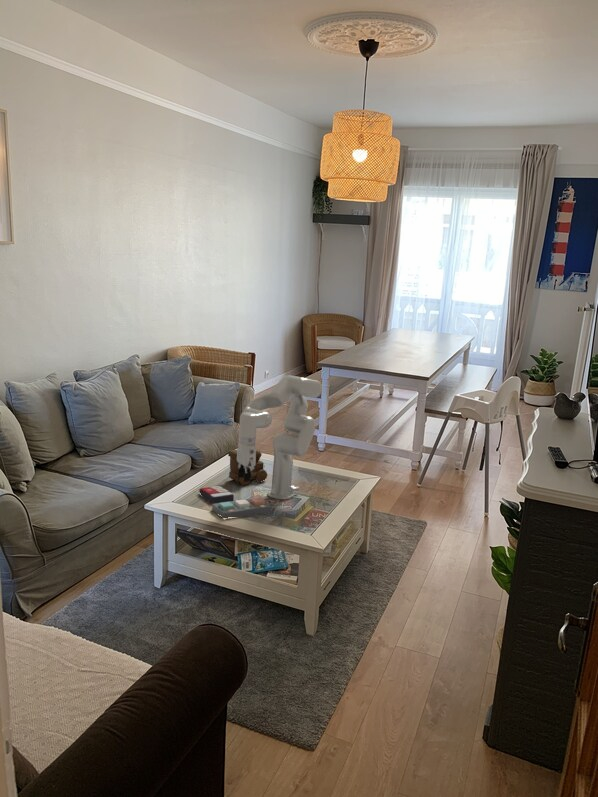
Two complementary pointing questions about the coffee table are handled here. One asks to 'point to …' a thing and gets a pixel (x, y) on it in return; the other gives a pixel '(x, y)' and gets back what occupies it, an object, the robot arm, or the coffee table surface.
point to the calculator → (216, 494)
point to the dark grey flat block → (242, 510)
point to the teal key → (226, 506)
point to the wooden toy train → (256, 473)
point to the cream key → (242, 503)
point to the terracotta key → (257, 501)
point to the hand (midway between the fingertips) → (244, 478)
